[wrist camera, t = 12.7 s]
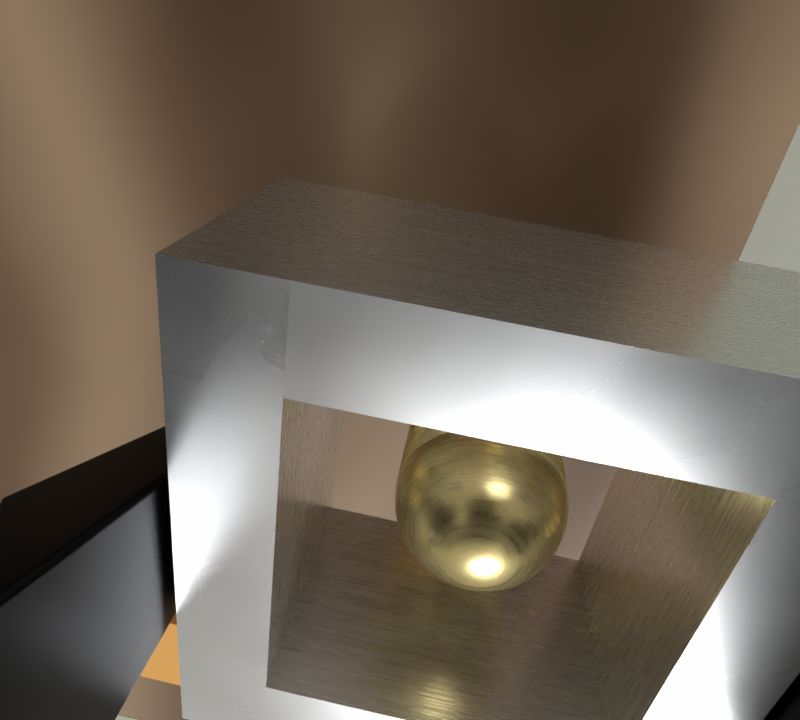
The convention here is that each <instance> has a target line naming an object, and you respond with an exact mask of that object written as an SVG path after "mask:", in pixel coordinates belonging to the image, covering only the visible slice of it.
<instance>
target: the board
mask: <svg viewBox="0 0 800 720" xmlns="http://www.w3.org/2000/svg"><path fill="white" fill-rule="evenodd" d="M799 123H800V0H0V502H1V500H2V499H3V498H4V497H6V496H8V495H11V494H13V493H15V492H17V491H20V490H22V489H24V488H26V487H29V486H31V485H33V484H35V483H38V482H40V481H42V480H44V479H47V478H49V477H51V476H53V475H56V474H58V473H60V472H62V471H65V470H67V469H69V468H71V467H74V466H76V465H78V464H80V463H83V462H85V461H87V460H89V459H92V458H94V457H96V456H98V455H101V454H103V453H105V452H107V451H110V450H112V449H114V448H116V447H119V446H121V445H123V444H125V443H128V442H130V441H132V440H134V439H137V438H139V437H141V436H143V435H146V434H148V433H150V432H152V431H155V430H157V429H159V428H161V427H164V426H165V415H164V398H163V382H162V365H161V348H160V331H159V314H158V297H157V280H156V264H155V254H156V253H157V252H159V251H161V250H162V249H164V248H166V247H167V246H169V245H171V244H173V243H174V242H176V241H178V240H179V239H181V238H183V237H184V236H186V235H188V234H189V233H191V232H193V231H194V230H196V229H198V228H200V227H201V226H203V225H205V224H206V223H208V222H210V221H211V220H213V219H215V218H216V217H218V216H220V215H221V214H223V213H225V212H226V211H228V210H230V209H232V208H233V207H235V206H237V205H238V204H240V203H242V202H243V201H245V200H247V199H248V198H250V197H252V196H253V195H255V194H257V193H258V192H260V191H262V190H264V189H265V188H267V187H269V186H270V185H272V184H274V183H275V182H277V181H279V180H280V179H282V178H289V179H295V180H300V181H306V182H311V183H317V184H322V185H328V186H333V187H338V188H344V189H349V190H355V191H360V192H366V193H371V194H376V195H382V196H387V197H393V198H398V199H404V200H409V201H415V202H420V203H425V204H431V205H436V206H442V207H447V208H453V209H458V210H464V211H469V212H474V213H480V214H485V215H491V216H496V217H502V218H507V219H513V220H518V221H523V222H529V223H534V224H540V225H545V226H551V227H556V228H561V229H567V230H572V231H578V232H583V233H589V234H594V235H600V236H605V237H610V238H616V239H621V240H627V241H632V242H638V243H643V244H649V245H654V246H659V247H665V248H670V249H676V250H681V251H687V252H692V253H697V254H703V255H708V256H714V257H719V258H725V259H730V260H736V261H738V259H739V257H740V255H741V253H742V250H743V248H744V246H745V244H746V241H747V239H748V237H749V235H750V233H751V230H752V228H753V226H754V224H755V221H756V219H757V217H758V215H759V212H760V210H761V208H762V206H763V203H764V201H765V199H766V197H767V194H768V192H769V190H770V188H771V185H772V183H773V181H774V179H775V177H776V174H777V172H778V170H779V168H780V165H781V163H782V161H783V159H784V156H785V154H786V152H787V150H788V147H789V145H790V143H791V141H792V138H793V136H794V134H795V132H796V129H797V127H798V125H799ZM409 426H410V424H407V423H402V422H397V421H392V420H387V419H382V418H378V417H373V416H368V415H363V414H358V413H353V412H348V411H344V410H343V411H342V419H341V427H340V436H339V444H338V453H337V461H336V469H335V478H334V486H333V495H332V503H331V507H333V508H337V509H342V510H347V511H351V512H356V513H361V514H365V515H370V516H374V517H379V518H384V519H388V520H393V521H397V517H396V509H395V490H396V483H397V478H398V474H399V469H400V465H401V461H402V457H403V452H404V448H405V444H406V439H407V435H408V431H409ZM562 459H563V465H564V471H565V477H566V483H567V490H568V502H569V512H568V520H567V526H566V530H565V533H564V536H563V539H562V541H561V543H560V545H559V547H558V549H557V551H556V552H555V554H554V555H555V556H560V557H565V558H569V559H574V560H579V558H580V556H581V554H582V551H583V549H584V546H585V544H586V542H587V539H588V537H589V534H590V532H591V530H592V527H593V525H594V522H595V520H596V518H597V515H598V513H599V510H600V508H601V506H602V503H603V501H604V498H605V496H606V494H607V491H608V489H609V486H610V484H611V482H612V479H613V477H614V474H615V472H616V470H617V467H616V466H611V465H606V464H601V463H596V462H591V461H587V460H582V459H577V458H572V457H567V456H562ZM118 715H121V716H125V717H129V718H133V719H137V720H188V719H184V718H182V702H181V686H180V685H176V684H171V683H167V682H163V681H159V680H155V679H150V678H146V677H142V676H140V677H139V678H138V680H137V682H136V684H135V685H134V687H133V689H132V691H131V692H130V694H129V696H128V698H127V699H126V701H125V703H124V705H123V706H122V708H121V710H120V712H119V714H118Z"/></svg>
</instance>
